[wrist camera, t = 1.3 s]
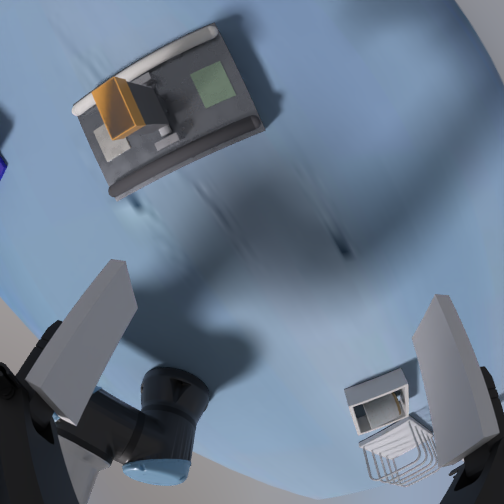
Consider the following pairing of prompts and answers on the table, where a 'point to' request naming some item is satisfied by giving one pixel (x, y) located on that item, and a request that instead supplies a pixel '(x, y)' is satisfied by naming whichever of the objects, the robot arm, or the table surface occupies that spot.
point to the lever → (130, 109)
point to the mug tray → (374, 391)
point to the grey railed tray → (188, 149)
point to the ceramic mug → (382, 410)
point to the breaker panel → (176, 111)
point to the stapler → (2, 167)
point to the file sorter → (399, 448)
